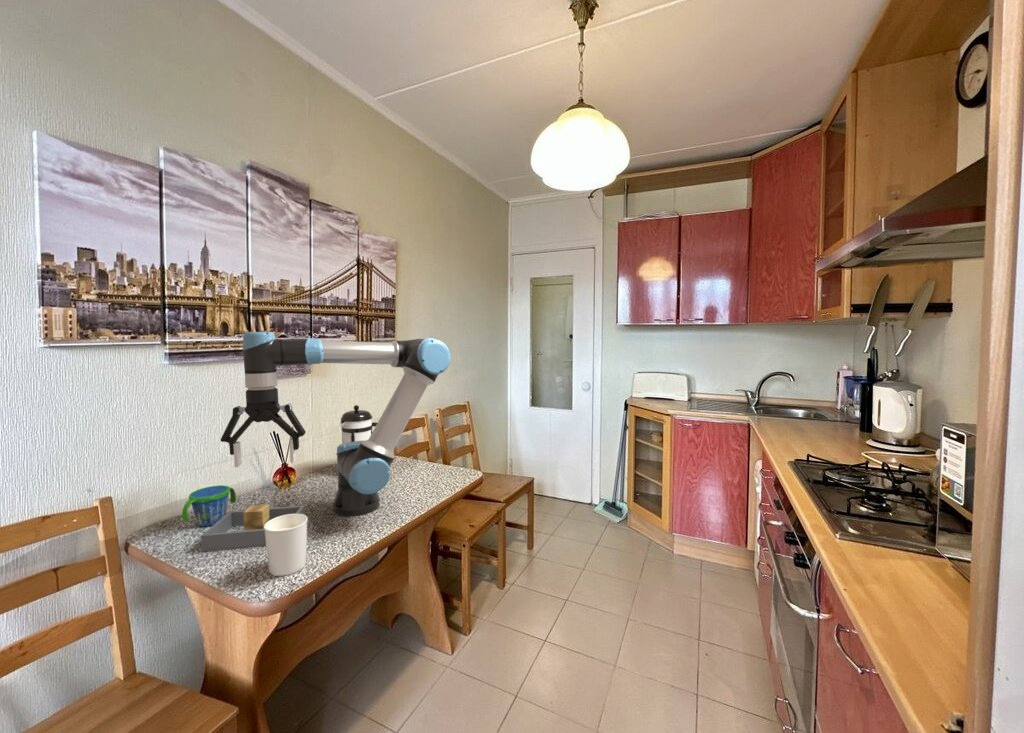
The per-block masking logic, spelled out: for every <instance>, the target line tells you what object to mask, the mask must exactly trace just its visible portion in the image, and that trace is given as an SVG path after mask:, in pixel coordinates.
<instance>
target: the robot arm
mask: <svg viewBox="0 0 1024 733" xmlns="http://www.w3.org/2000/svg"><path fill="white" fill-rule="evenodd" d="M242 355H243V356H242V357H243V367H244V368H243V369H244V386H245V387H244V388H246V390H245V402H246V403H245V404H246V405H245V406H240V405H237V406H235V407H233V408H232V415H231V418H230V420H229V422H228V424H227V425H226V428H225V430H224V432H223V434H222V435H221V437H220V441H221V442H222V443H227V444H228V445H229V454H230V456H233V458H234V460H233V461H234V462H233V463H234V468H239V467H240V466H242V463H243V462H242V448H241V447H242V446H241V441H238V440H239V439H240V437H242V435H243V434H244V433H245V431H247V429H248V428H249V427H250V426H251V425H252V424H253V422H256V423H261V422H264V423H266V422H274V424H277V425H278V426H279V427H280V429H281V430H283V431H284V432H285V433H286V434H287V435H288V436H290V439H289V457H290V458H289V459H290V463H291V464H293V463H295V461H296V460H297V456H296V452H297V451H296V450H298V449H299V448H300V440H299V438H301V437H303V436H304V435H306V432H307V431H306V430H305V428H304V427H303V425H302V423H301V422H300V421H299V418H298V417H297V416H296V414H295V413H294V410H293V407H292V404H291V403H289V402H288V403H287V404H281V405H280V402H279V391H278V387H277V386H278V374H277V373H278V372H277V366H280V367H281V366H302V365H307V366H308V365H309V366H312V365H320V364H349V365H350V364H351V365H352V364H353V365H354V364H355V365H356V364H357V365H360V364H361V365H362V364H363V365H390V366H391V367H392V368H401V369H402V370H403V375H402V378H401V379H400V381H399V383H398V385H397V387H396V389H395V391H394V392H393V394H392V396H391V398H390V399H389V401H388V403H387V404H386V407H385V409H384V411H383V412H382V414H381V416H380V418H379V420H378V421H377V422H376V423H377V425H376V426H374V429H372V434H371V436H370V438H369V439H368V440H366V441H354V442H348V443H343V444H342V443H341V444H339V445H338V446H336V454H335V455H336V459H337V460H336V461H337V462H336V463H337V464H336V467H337V491H336V493H335V494H336V495H335V496H334V501H333V504H332V505H333V506H332V507H333V508H332V511H333V513H334V514H335V515H337V516H340V517H355V516H362V515H366V514H368V513H372V512H373V511H375V510H377V509H378V508H379V507H380V504H381V500H380V495H379V493H378V492H379V491H381V490H382V489H384V488H385V487H386V486H387V484H388V483H389V482H390V478H391V465H392V464H393V462H394V461H395V460H394V459H395V453H394V450H395V448H396V446H397V444H398V442H399V440H400V439H401V436H402V435H403V433H404V430H405V429H406V427H407V425H408V424H409V423H408V422H409V421H410V420H411V417H412V415H413V414H414V412H415V411H416V409H417V408H416V407H417V406H418V404H419V403H420V400H421V399H422V396H423V395H424V393H425V391H426V389H427V388H428V386H430V385H432V384H435V382H436V380H437V378H438V376H439V375H440V374H442V373H444V372H445V371H446V370H447V369H448V368H449V366H450V364H451V360H452V359H451V352H450V349H449V347H448V346H447V345H446V343H444V342H443V341H441V340H439V339H436V338H431V337H430V338H416V339H409V340H407V339H406V340H392V341H391V342H370V341H352V340H351V341H348V340H329V339H327V340H326V339H319V338H310V337H309V338H282V339H281V338H276V335H275V333H274V332H273V331H249V332H245V333H244V334H243V336H242ZM280 411H282V412H283V413H285V415H286V417H287V418H288V420H289V421H290V423H291V424H292V426H293V427H294V428H293V427H292V426H291V425H290V424H289V423H287V422H286V421H285V419H283V418H282V416H281V415H280V414H279V413H280ZM244 413H246V415H248V417H247V418H246V419H245V421H244V422H243V423H242V425H240V427H239V428H237V430H236V432H235V433H234V432H233V431H234V429H235V428H236V425H237V424H238V421H239V420H240V417H241V415H243V414H244ZM233 433H234V434H233Z"/></svg>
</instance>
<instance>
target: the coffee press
mask: <svg viewBox="0 0 1024 733" xmlns="http://www.w3.org/2000/svg"><path fill="white" fill-rule="evenodd" d="M359 409H360V407H359V405H356V404H355V405H353V410H348V411H346V412H344V413H343V414H342V415H341V417H340V422H339V427H341V430H340V431H341V444H343V443H348V442H354V441H366V440H368V439H369V438H370V436H371V434H372V432H373V428H374V427H376V425H377V423H378V422H376V421H375V422H372V420H373V415H372V413H370V411H368V410H365V409H360V410H359Z"/></svg>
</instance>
